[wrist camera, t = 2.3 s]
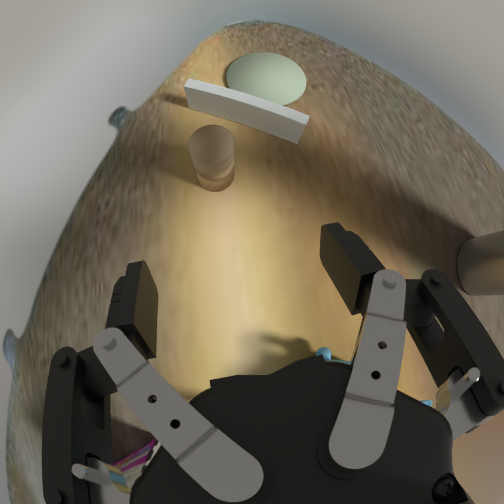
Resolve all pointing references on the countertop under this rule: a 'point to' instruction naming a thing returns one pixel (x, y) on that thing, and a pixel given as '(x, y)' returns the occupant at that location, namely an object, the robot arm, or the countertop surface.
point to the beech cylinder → (213, 157)
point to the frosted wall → (246, 110)
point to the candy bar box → (137, 462)
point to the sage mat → (267, 77)
